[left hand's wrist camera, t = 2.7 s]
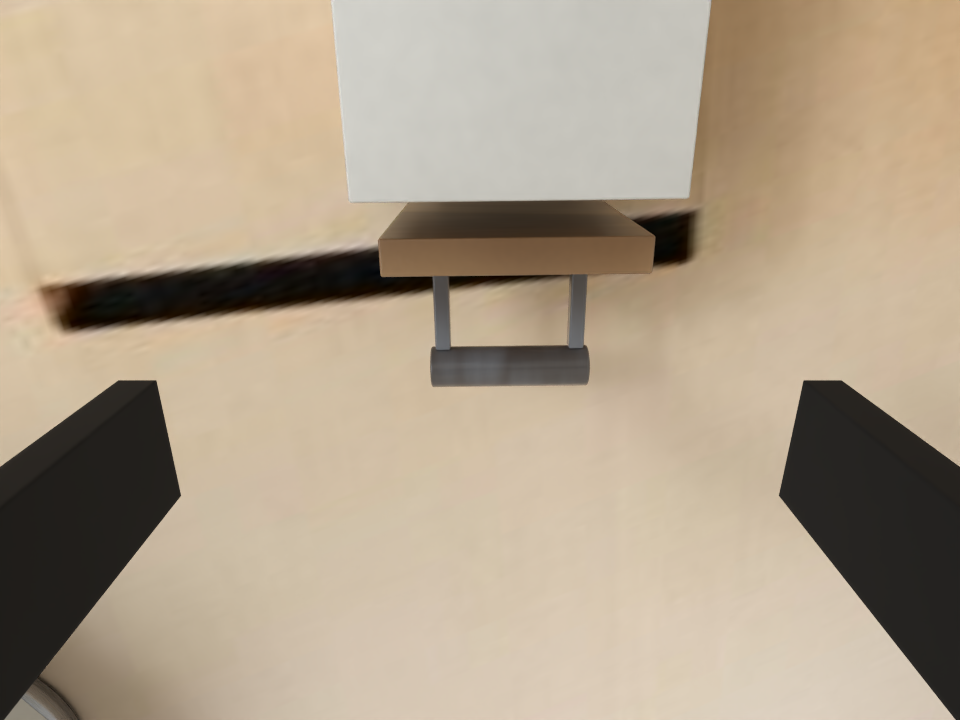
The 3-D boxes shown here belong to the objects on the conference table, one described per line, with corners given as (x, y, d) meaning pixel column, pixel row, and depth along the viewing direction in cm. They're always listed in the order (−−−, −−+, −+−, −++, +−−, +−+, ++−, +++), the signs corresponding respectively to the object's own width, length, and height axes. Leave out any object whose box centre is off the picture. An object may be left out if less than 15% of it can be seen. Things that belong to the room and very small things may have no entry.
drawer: (590, 338, 30) (637, 432, 21) (417, 341, 30) (391, 434, 21) (631, -368, 21) (748, -733, 12) (380, -365, 21) (306, -726, 12)
